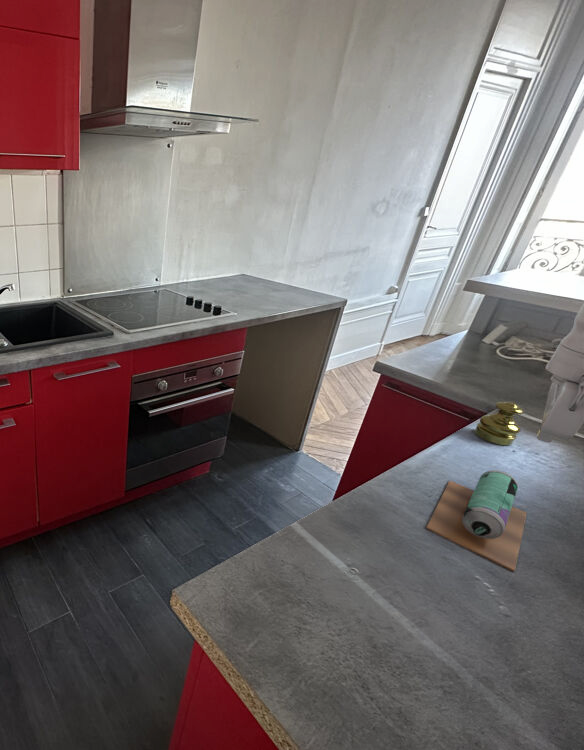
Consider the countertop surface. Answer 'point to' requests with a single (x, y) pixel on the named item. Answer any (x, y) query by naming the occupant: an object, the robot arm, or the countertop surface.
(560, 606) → the countertop surface
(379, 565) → the countertop surface
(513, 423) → the gold stacked rounded piece
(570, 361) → the robot arm
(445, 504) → the wooden board
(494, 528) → the spray can
